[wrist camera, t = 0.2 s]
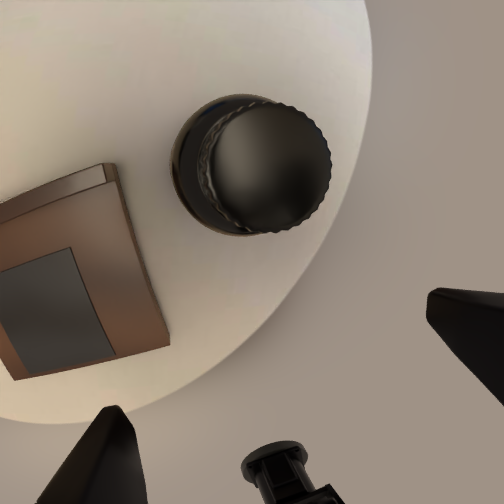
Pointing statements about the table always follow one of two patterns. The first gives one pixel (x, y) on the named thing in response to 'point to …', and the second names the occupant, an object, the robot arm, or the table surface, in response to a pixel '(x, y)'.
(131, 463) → the robot arm
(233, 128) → the supplement bottle
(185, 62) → the table surface
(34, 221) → the shelf
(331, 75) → the table surface
